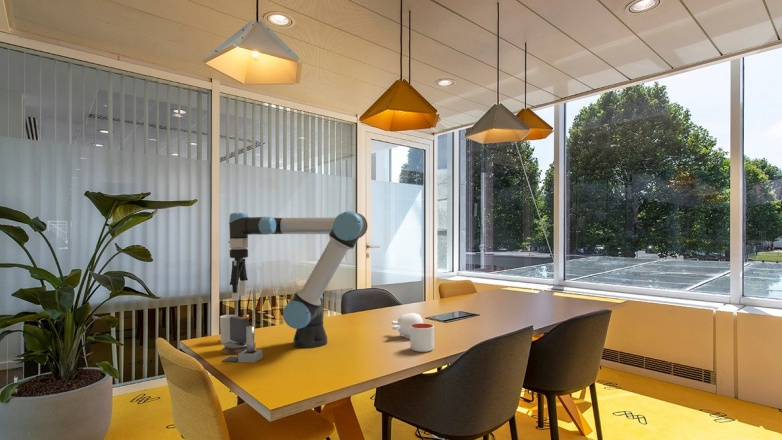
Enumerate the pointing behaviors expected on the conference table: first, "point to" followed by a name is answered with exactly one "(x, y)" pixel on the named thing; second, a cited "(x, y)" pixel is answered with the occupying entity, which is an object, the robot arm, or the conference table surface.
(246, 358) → the eye block
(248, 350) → the rod
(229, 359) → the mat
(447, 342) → the conference table surface
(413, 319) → the piggy bank
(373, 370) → the conference table surface
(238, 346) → the lever on round base
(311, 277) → the robot arm
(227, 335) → the mug
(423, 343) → the cup
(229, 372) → the conference table surface
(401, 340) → the conference table surface
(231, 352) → the plinth
